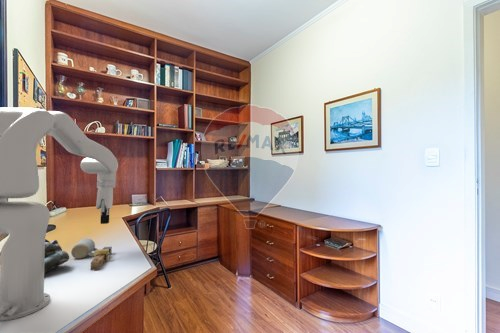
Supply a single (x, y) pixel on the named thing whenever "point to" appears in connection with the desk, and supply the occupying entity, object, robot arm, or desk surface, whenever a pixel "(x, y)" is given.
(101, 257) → the bar
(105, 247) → the block
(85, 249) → the ceramic mug
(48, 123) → the robot arm
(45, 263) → the lucky cat figurine
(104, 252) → the collar
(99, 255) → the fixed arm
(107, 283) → the desk surface
